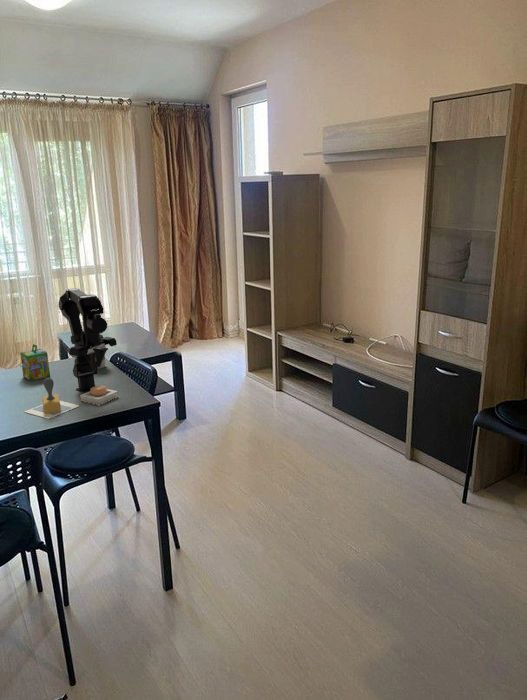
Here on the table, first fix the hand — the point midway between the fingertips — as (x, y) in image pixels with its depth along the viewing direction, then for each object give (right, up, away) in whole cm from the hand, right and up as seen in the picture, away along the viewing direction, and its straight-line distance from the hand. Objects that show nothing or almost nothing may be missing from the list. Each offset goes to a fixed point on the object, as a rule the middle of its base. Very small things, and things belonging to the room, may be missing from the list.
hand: (96, 367), depth 208 cm
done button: (0, -10, +3) cm, 11 cm away
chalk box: (-37, -5, +34) cm, 50 cm away
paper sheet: (-15, -15, -6) cm, 22 cm away
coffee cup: (-13, -1, +45) cm, 47 cm away
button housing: (0, -12, +4) cm, 13 cm away
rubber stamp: (-15, -15, -5) cm, 22 cm away
